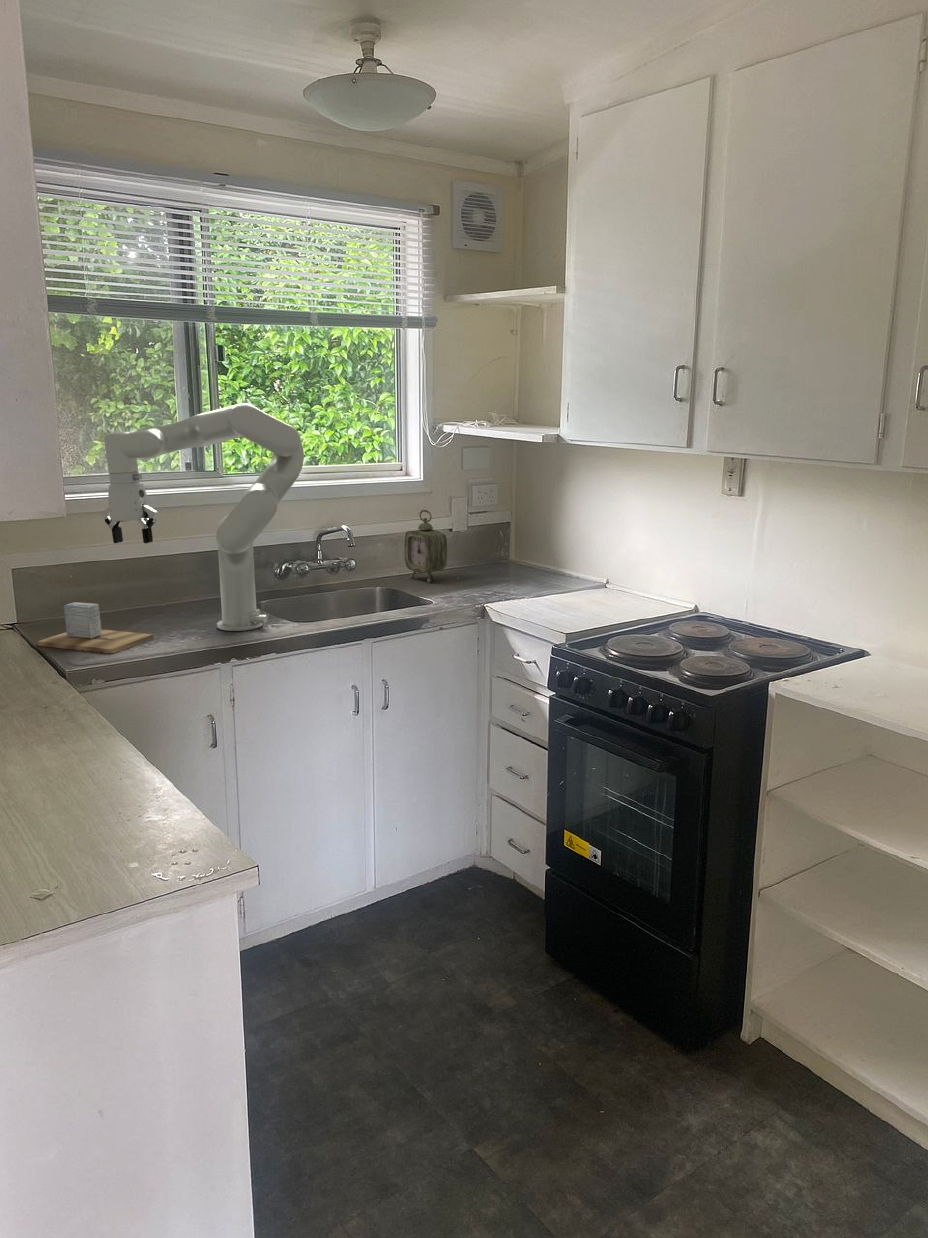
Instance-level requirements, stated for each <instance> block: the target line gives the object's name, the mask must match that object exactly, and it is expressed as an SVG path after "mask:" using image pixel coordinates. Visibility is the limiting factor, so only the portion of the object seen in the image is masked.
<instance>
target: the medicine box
mask: <svg viewBox="0 0 928 1238" xmlns="http://www.w3.org/2000/svg"><path fill="white" fill-rule="evenodd" d="M63 610H64V611H63V612H64V621H65V622H64V623H65V629H66V632H67V636H68V637H79V638H90V639H92V638H95V637H98V636H100V635H102V632H101V629H102V623H101V617H100V616H101V615H100V607H99V603H90V602H79V601H78V602H76V601H75V602H70V603H67V604H65V605H63Z"/></svg>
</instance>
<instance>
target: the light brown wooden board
mask: <svg viewBox="0 0 928 1238" xmlns="http://www.w3.org/2000/svg"><path fill="white" fill-rule="evenodd" d="M101 632H102V635H100V636H98V637H95V638H92V639H90V638H79V637H68V636H67V631H66V632H62V633H59V634H56V635H52V636H50V637H46V638H43V639H41V640H37V646H39V647H46V648H55V649H65V650H73V649H74V650H75V651H82V650H83V651H82V652H91V651H93V653H100V652H103V653H102V654H109V653H114V654H116V652H117V653H119V652H122V651H125V650H128V649H130V648H133V647H135V646H138V645H141V644H144V643H147V642H149V641H152V640H154V638H155V637H154V634H151V633H150V634H149V633H141V632H131V631H120V630H112V629H102V628H101ZM118 651H119V652H118Z"/></svg>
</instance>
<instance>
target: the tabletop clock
mask: <svg viewBox="0 0 928 1238" xmlns="http://www.w3.org/2000/svg"><path fill="white" fill-rule="evenodd" d="M424 512H425V513H427V514H428V515H429V519H428V518H427V517H424V518H423V517H422V513H424ZM418 515H419V519H420V520H421V521H422V523H420V524H419V526H418V528H417V529H415V530H414V529H413V530H408V531H406V532H405V536H404V561H405V566H406V568H407V569H409V570H411V571H412V572H413V573H410V574H409V578H410V579H415V574H416V573H422V574H423V573H428V578H427V579H426V582H427V584H430V583H432V581H433V579H434V575H433V574H432V573H433V572H439V571H442V570H444V569H445V568H447V565H448V563H447V562H448V540H447V536H446V535H445V534H444V533H442V532H441V531H439V530H436V529H434V527H433V526H432V524H431V523H430V522H431V520H432V513H431V512H430V510H428V509H422V510H420V512H419V514H418Z"/></svg>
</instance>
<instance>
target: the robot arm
mask: <svg viewBox="0 0 928 1238" xmlns="http://www.w3.org/2000/svg"><path fill="white" fill-rule="evenodd" d="M242 437H243V438H244V439H246V440H248V441H250V442H251V443H253V444H256V445H257V446H259V447H261V448H263V449H265V450H267V451H269V452H271V453H272V458H271V460H270V462H269V464H268V465H267V466H266V467H265V469H263V471H262V473H261V474H260V475H259V476H258V477H257V479H256V480H255V481H254V482H253V483H252V485H251V486H250V487H248V488H247V489H246V490H245V492H244V493H243V495H242V496H241V499H240V500H239V501H238V502H237V504H236V505H235V507H233V508H232V510H231V511H229V514H227V515H225V516H224V517H223V518H222V519H221V520H220V521H219V522H218V524H217V527H216V530H215V540H216V543H217V549H218V550H217V552H218V570H219V586H220V588H219V589H220V590H219V591H220V602H221V603H220V605H221V620H219V621H218V622H217V623H216V627H217V629H219V630H221V631H227V632H243V631H250V630H251V631H252V630H256V629H258V628H261V627H262V626H263V624H266V623H268V619H269V618H268V617H269V616H268V615H267V614H261V609H257V597H256V596H257V595H256V582H255V578H256V577H255V560H254V559H255V558H254V542H255V541H256V539H257V538H258V537H259V536H260V535H261V533H262V532H263V531H264V530H265V529H266V527H267V526H268V525H269V523H270V522H271V521H272V519H273V518H274V516H275V515H276V513H277V511H278V505H279V504H280V502H281V501H282V499H283V498H284V497H285V496H286V495H287V493H288V492H289V490H290V489H291V488H292V486H293V485H294V484H295V482H296V481H297V480H298V478H299V476H300V474H301V471H302V469H303V466H304V461H305V460H304V459H305V450H304V446H303V442H302V440H301V435H300V433H299V431H298V430H297V429H296V428H295V427H294V426H292V425H291V424H288V423H285V422H284V421H282V420H280V419H278V418H276V417H274V416H272V415H270V414H269V413H266V412H264V411H263V410H261V409H259V408H257V407H256V406H254V405H253V404H252V403H247V402H243V403H237V404H234V405H230V406H227V407H226V406H225V407H222V408H217V409H215V410H211V411H207V412H203V413H198V414H196V415H192V416H189V417H188V418H185V419H182V420H180V421H176V422H172V423H169V424H164V425H159V426H156V427H152V428H149V429H144V430H140V431H133V432H130V431H116V432H108V433H106V434H104V437H103V439H104V440H103V443H104V450H105V457H106V464H107V471H108V477H109V485H108V496H107V497H108V507H107V508H106V509H104V510H103V511H101V516H102V518H103V520H104V522H105V524H107V525H108V528H109V529H110V530H111V534H112V535H111V536H112V540H113V544H118V543H123V541H124V538H123V531H122V526H120V525H121V524H122V523H139V524H140V525H141V527H142V529H141V535H142V541H143V543H144V544H150V543H153V542H154V541H153V539H154V537H153V529H152V528H153V527H154V525H155V523H156V522H157V517H158V511H157V510H155V509H154V508H153V507H150V504H149V498H148V495H147V492H146V491H147V490H146V488H145V486H144V484H143V483H142V482H141V481H140V480H142V479H143V475H142V474H140V472H139V466H138V459H146V460H147V459H148V460H151V459H155V458H158V457H160V456H163V455H167V454H170V453H174V452H178V451H182V450H186V449H191V448H203V447H208V446H212V445H215V444H220V443H223V442H227V441H230V440H235V439H239V438H242Z"/></svg>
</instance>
